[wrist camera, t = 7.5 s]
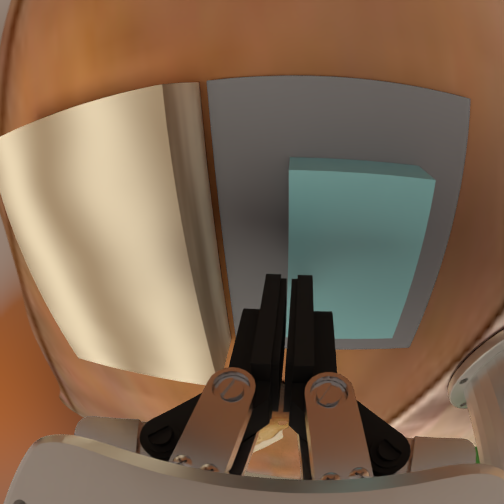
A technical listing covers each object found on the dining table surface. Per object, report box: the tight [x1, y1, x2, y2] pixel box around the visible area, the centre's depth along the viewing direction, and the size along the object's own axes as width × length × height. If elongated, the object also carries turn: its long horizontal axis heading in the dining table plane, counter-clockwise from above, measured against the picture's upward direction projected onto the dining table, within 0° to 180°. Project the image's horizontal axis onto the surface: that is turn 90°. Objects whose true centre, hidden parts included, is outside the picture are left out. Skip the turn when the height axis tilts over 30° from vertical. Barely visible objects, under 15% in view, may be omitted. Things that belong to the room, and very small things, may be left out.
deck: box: [0, 82, 231, 385], centre depth 15 cm, size 11×16×4 cm
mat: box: [207, 76, 470, 349], centre depth 15 cm, size 12×16×1 cm
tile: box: [286, 157, 436, 339], centre depth 14 cm, size 6×9×2 cm, turn 3°
